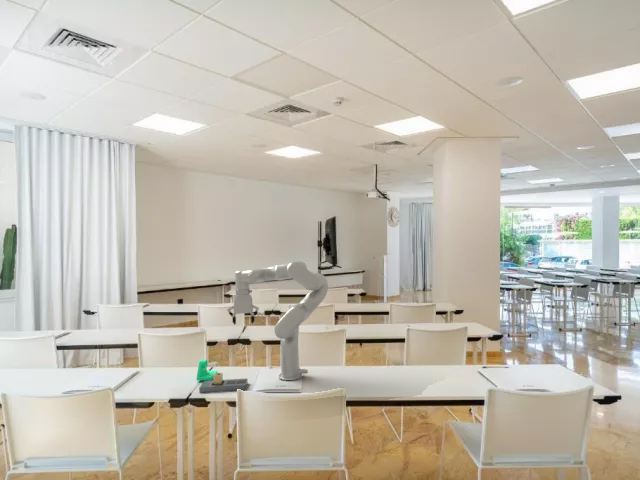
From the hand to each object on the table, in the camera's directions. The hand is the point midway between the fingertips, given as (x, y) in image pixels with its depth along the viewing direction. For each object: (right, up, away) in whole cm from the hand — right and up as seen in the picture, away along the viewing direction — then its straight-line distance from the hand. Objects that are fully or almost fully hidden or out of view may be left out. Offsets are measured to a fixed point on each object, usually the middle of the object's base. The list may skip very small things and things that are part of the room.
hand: (243, 323), depth 214 cm
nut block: (-9, -28, -21) cm, 36 cm away
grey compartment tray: (-6, -28, -21) cm, 35 cm away
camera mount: (-19, -29, -4) cm, 35 cm away
